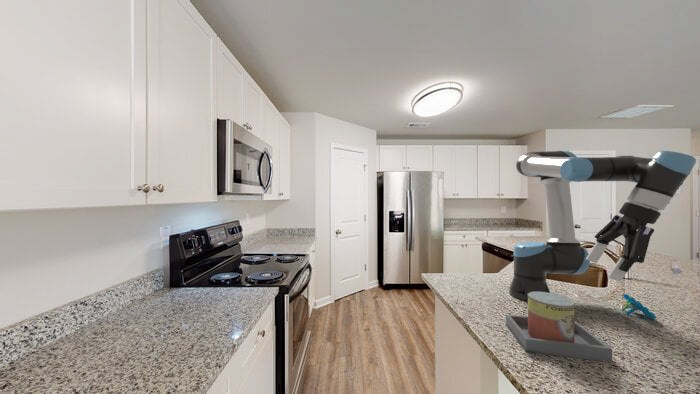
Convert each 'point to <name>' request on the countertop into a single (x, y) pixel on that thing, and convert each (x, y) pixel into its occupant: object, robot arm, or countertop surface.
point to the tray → (560, 342)
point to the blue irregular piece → (636, 306)
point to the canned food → (550, 317)
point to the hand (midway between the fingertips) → (601, 269)
